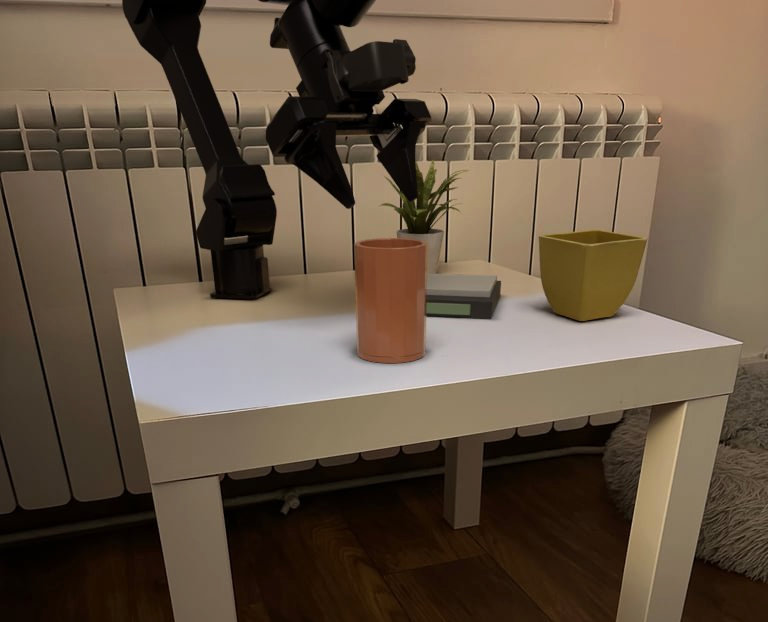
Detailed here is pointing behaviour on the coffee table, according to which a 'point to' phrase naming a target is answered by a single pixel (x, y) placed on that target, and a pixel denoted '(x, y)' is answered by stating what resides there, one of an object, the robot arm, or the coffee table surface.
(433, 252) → the house plant
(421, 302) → the cup
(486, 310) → the scale
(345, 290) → the coffee table surface
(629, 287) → the flower pot
